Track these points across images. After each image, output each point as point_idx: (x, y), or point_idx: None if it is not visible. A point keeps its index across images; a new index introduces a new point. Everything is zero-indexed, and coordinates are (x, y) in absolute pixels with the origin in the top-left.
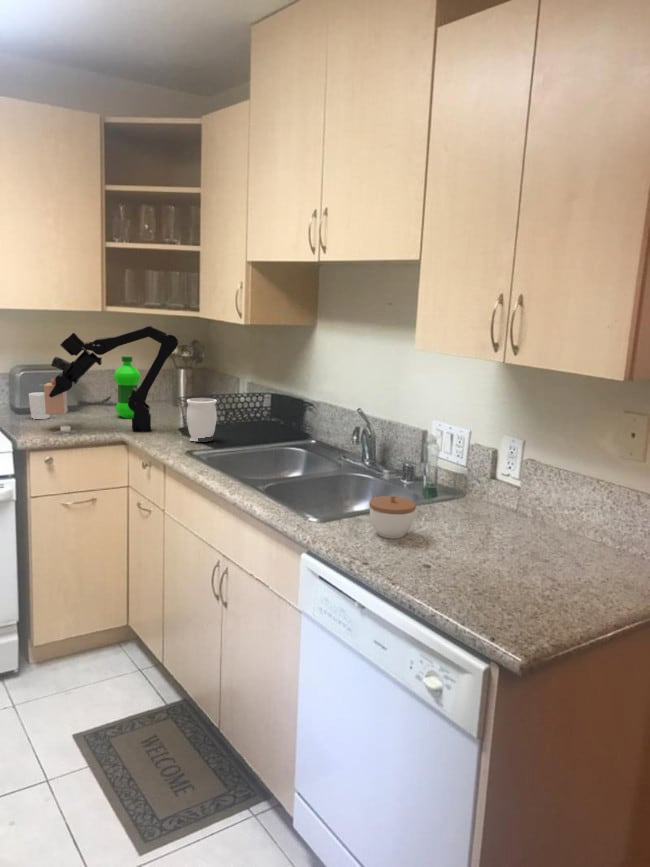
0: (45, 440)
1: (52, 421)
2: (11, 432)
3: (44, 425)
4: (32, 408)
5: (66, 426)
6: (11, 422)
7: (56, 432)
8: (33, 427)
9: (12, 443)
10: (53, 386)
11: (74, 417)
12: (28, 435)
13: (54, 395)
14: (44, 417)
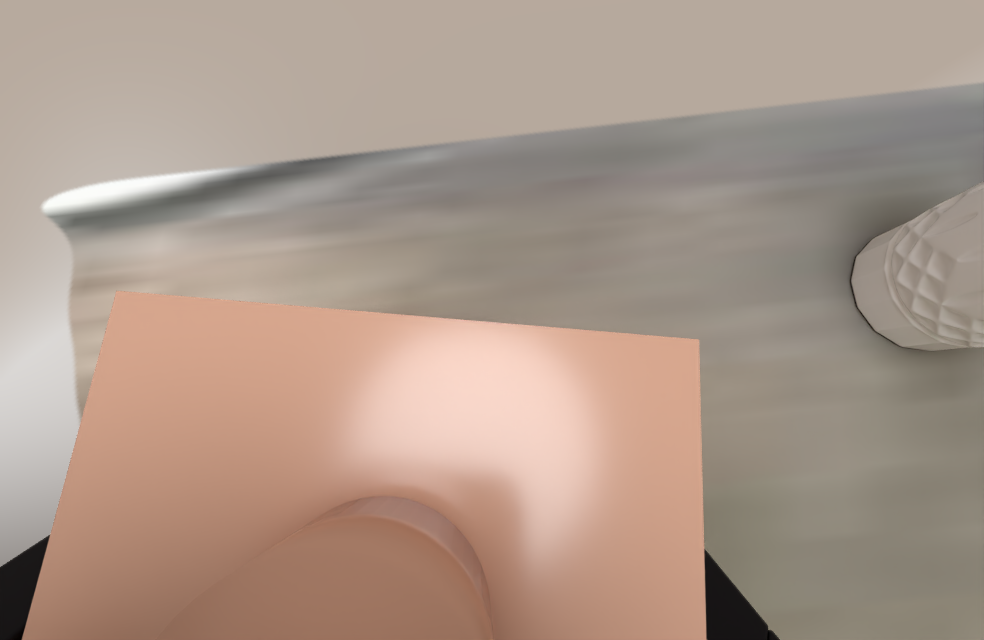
0: None
1: (798, 385)
2: (426, 166)
3: None
4: (935, 212)
5: None
6: (750, 130)
7: None
8: (580, 279)
9: (77, 211)
10: (65, 586)
11: (973, 541)
12: (311, 277)
13: None
14: (879, 319)
